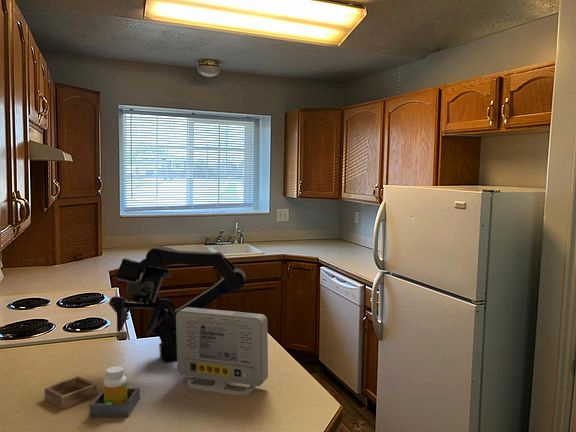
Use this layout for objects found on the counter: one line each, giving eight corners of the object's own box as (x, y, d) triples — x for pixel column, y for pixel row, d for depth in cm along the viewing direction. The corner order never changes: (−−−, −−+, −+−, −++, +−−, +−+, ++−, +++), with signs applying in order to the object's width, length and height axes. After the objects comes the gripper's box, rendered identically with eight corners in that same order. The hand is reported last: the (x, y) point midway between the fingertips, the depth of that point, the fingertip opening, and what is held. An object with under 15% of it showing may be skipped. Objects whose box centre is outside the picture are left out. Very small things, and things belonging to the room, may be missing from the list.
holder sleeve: (78, 386, 127) (77, 376, 126) (97, 395, 121) (96, 384, 121) (44, 399, 119) (44, 388, 119) (63, 409, 114) (62, 397, 114)
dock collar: (104, 399, 119) (103, 385, 119) (139, 399, 119) (139, 385, 119) (90, 417, 110) (89, 402, 110) (128, 417, 110) (127, 402, 110)
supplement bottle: (126, 411, 113) (125, 372, 112) (103, 414, 111) (101, 375, 111) (128, 401, 118) (127, 363, 117) (105, 404, 117) (104, 366, 116)
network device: (271, 384, 127) (270, 312, 126) (258, 398, 119) (257, 321, 117) (189, 372, 136) (187, 304, 134) (172, 385, 127) (170, 313, 126)
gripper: (111, 269, 138) (90, 317, 128) (170, 271, 135) (153, 320, 125) (125, 289, 147) (107, 335, 137) (181, 291, 143) (167, 338, 133)
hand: (133, 332), depth 133 cm, fingers open, 9 cm apart
